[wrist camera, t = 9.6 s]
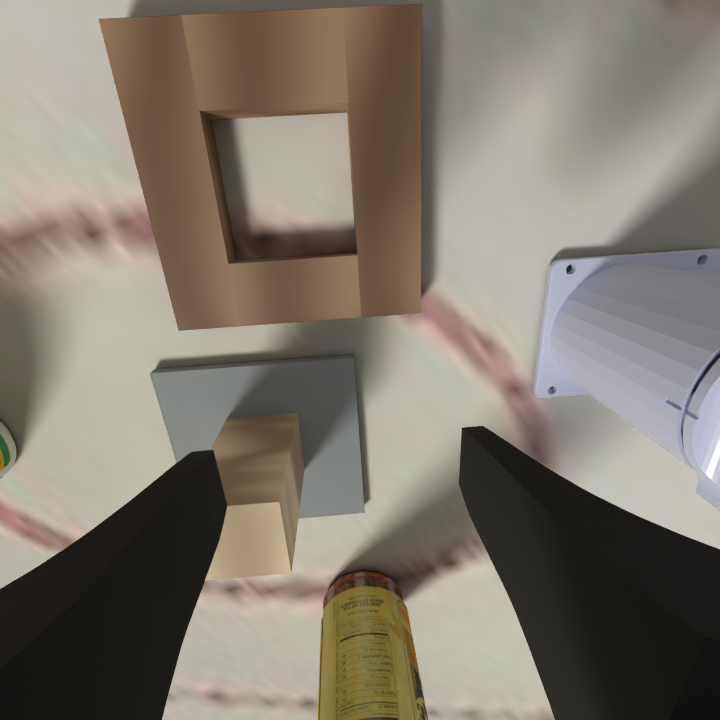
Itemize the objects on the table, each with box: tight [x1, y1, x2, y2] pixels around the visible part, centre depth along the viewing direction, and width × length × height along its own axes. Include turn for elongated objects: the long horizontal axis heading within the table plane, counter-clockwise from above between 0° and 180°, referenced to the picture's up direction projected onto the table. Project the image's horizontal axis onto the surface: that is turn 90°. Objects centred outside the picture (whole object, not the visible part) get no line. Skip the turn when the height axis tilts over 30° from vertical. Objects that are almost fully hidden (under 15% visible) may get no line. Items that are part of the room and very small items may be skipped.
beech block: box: [205, 413, 305, 580], centre depth 18 cm, size 4×4×7 cm
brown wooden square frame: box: [99, 4, 422, 331], centre depth 17 cm, size 12×12×2 cm
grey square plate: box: [150, 354, 365, 518], centre depth 22 cm, size 11×11×1 cm
